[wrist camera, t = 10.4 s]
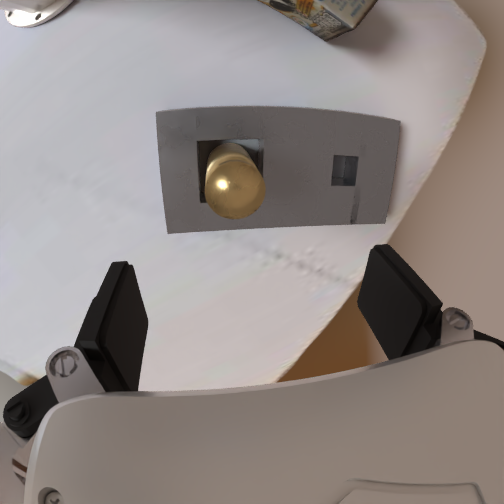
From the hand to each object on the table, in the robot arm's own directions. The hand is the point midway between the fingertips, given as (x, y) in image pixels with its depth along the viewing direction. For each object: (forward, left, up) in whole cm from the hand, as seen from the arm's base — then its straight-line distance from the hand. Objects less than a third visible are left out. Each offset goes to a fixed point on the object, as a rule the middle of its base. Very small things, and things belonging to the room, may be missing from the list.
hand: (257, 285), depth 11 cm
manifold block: (0, +6, -20) cm, 21 cm away
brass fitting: (0, 0, -20) cm, 20 cm away
